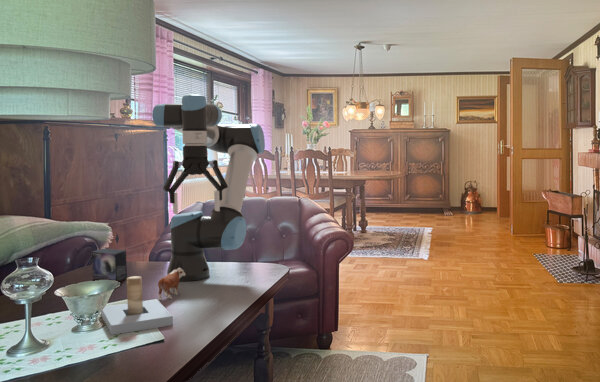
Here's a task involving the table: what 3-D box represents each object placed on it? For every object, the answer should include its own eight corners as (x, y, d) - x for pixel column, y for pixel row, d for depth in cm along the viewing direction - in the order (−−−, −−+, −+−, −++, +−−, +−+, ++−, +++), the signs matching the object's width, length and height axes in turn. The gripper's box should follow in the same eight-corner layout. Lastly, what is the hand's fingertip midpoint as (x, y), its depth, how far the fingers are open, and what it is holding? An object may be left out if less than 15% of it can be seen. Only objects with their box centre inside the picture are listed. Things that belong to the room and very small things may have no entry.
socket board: (101, 315, 163) (100, 306, 163) (157, 307, 170) (156, 299, 170) (111, 334, 147) (111, 325, 147) (173, 325, 154) (172, 316, 154)
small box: (91, 280, 202) (90, 251, 201) (104, 276, 208) (103, 247, 207) (115, 283, 198) (114, 253, 197) (128, 278, 204) (126, 249, 203)
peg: (127, 319, 159) (125, 277, 158) (141, 317, 161) (140, 275, 160) (129, 323, 156) (128, 280, 154) (144, 321, 158) (143, 278, 156)
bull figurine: (188, 290, 188) (187, 266, 187) (166, 302, 175) (165, 276, 174) (176, 289, 189) (176, 265, 188) (153, 301, 177) (152, 275, 176)
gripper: (157, 145, 169) (160, 216, 172) (236, 144, 181) (237, 210, 183) (152, 145, 176) (154, 213, 178) (228, 144, 187) (229, 208, 190)
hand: (196, 212), depth 181 cm, fingers open, 13 cm apart
